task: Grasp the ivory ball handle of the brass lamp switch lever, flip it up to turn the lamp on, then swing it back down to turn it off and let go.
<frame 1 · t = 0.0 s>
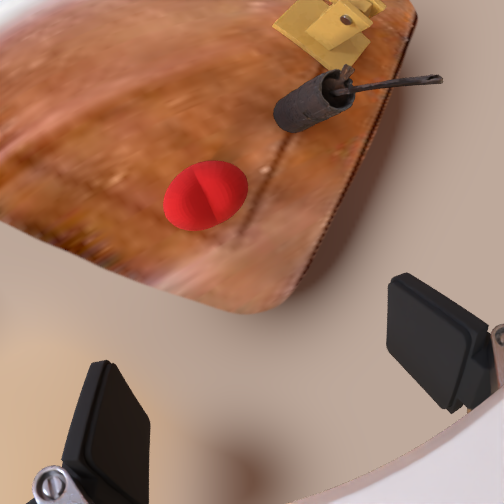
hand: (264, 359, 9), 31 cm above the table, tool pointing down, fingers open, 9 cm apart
red rounded lump: (202, 188, 38), on the table
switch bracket: (322, 33, 33), on the table
butter churn: (294, 106, 37), on the table
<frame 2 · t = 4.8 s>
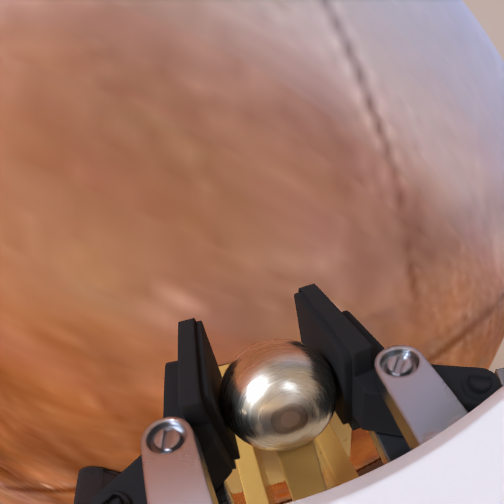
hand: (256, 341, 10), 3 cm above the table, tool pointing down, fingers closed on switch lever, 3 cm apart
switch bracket: (276, 425, 16), on the table
butter churn: (120, 477, 16), on the table
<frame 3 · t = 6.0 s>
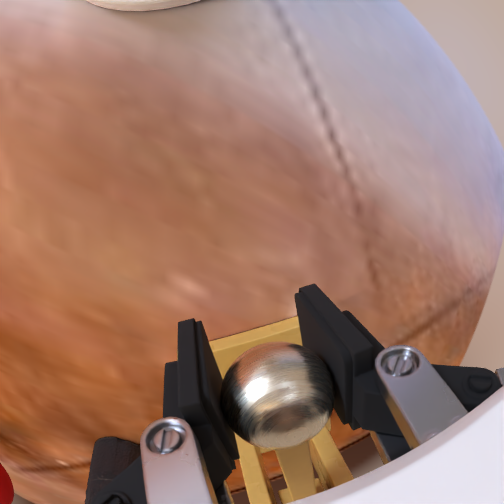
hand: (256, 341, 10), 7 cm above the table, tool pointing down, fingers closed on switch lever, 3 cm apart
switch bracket: (264, 395, 20), on the table
butter churn: (131, 447, 20), on the table
switch lever: (297, 471, 9), point 10 cm above the table, hinge at -0.4°, touching gripper
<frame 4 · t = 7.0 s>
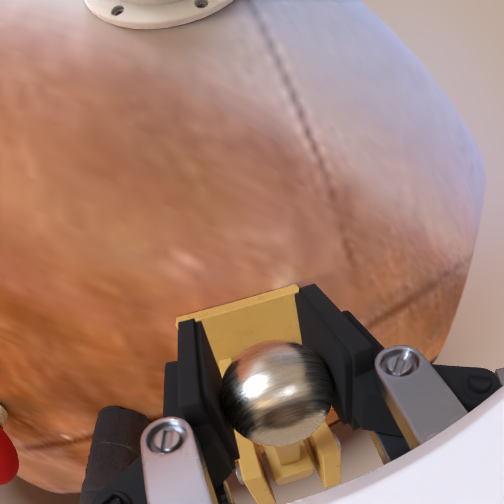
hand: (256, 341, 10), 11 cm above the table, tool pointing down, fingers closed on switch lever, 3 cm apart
red rounded lump: (1, 404, 20), on the table
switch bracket: (253, 363, 23), on the table
butter churn: (132, 417, 23), on the table
switch lever: (284, 438, 11), point 12 cm above the table, hinge at 19.0°, touching gripper
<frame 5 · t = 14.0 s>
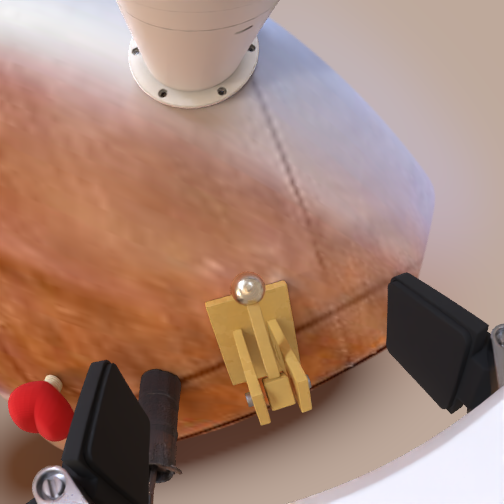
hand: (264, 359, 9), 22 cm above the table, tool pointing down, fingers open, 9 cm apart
red rounded lump: (56, 377, 32), on the table
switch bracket: (255, 334, 35), on the table
butter churn: (167, 378, 35), on the table
switch lever: (263, 340, 27), point 7 cm above the table, hinge at -30.7°
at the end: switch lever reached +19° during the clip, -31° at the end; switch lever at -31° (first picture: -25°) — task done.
